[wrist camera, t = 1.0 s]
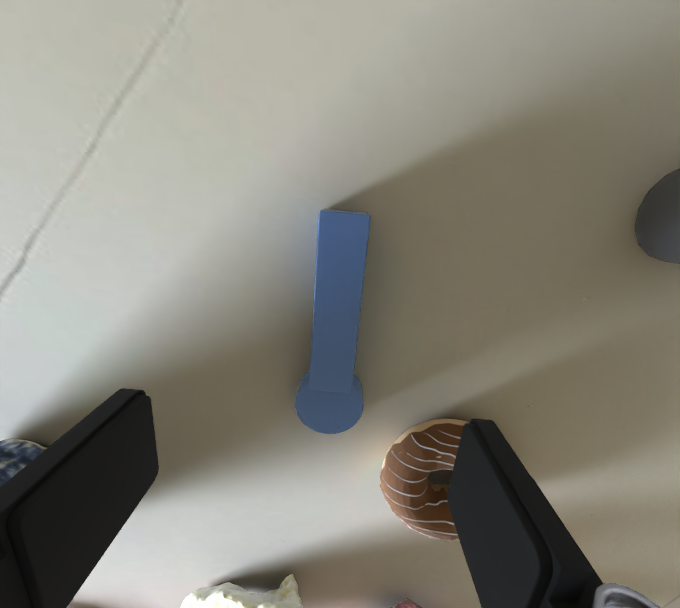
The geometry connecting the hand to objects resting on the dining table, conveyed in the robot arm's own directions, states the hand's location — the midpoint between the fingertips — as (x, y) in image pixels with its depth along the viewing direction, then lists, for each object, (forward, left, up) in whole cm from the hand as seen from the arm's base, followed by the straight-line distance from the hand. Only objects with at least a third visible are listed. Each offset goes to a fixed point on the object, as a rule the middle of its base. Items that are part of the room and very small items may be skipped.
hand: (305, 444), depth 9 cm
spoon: (+2, +1, -14) cm, 15 cm away
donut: (+14, +11, -15) cm, 23 cm away
